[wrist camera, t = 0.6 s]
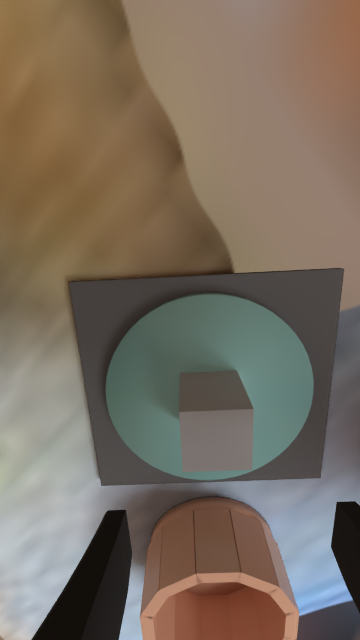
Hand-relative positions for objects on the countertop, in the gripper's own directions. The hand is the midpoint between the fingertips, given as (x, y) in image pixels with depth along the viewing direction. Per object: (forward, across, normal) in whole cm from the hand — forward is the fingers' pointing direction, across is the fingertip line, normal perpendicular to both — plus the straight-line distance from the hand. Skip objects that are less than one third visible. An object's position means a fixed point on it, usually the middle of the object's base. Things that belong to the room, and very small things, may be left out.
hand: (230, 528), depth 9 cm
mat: (+9, 0, 0) cm, 9 cm away
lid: (+9, 0, 0) cm, 9 cm away
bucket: (+9, 0, +14) cm, 17 cm away
